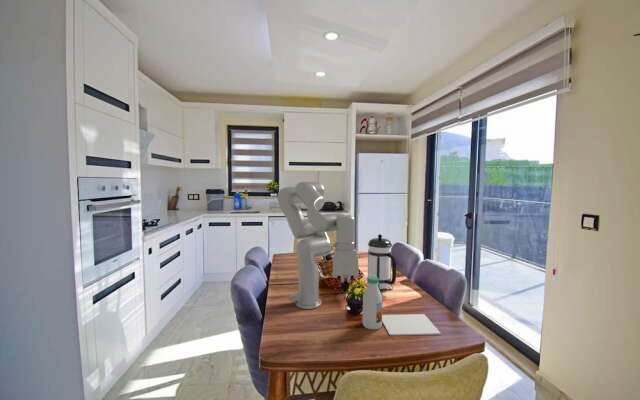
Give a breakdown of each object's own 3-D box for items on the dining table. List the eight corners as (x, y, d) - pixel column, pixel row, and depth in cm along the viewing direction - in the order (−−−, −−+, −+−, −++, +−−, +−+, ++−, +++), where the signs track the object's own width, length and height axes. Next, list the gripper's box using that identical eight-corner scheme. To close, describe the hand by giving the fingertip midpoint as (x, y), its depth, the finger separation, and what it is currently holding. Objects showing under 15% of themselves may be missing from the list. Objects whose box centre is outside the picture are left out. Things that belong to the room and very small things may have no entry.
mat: (389, 335, 112) (389, 334, 112) (379, 316, 128) (379, 315, 127) (440, 334, 112) (440, 333, 112) (424, 315, 128) (424, 314, 128)
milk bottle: (370, 332, 114) (371, 282, 113) (358, 323, 121) (359, 276, 120) (385, 327, 118) (386, 279, 116) (373, 319, 125) (374, 273, 123)
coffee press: (362, 291, 156) (362, 236, 154) (368, 281, 170) (369, 231, 168) (395, 296, 149) (396, 238, 147) (399, 286, 164) (400, 233, 162)
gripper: (327, 248, 113) (327, 294, 114) (365, 248, 113) (365, 294, 114) (326, 244, 120) (326, 287, 121) (362, 244, 121) (361, 287, 122)
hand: (345, 290), depth 118 cm, fingers closed
